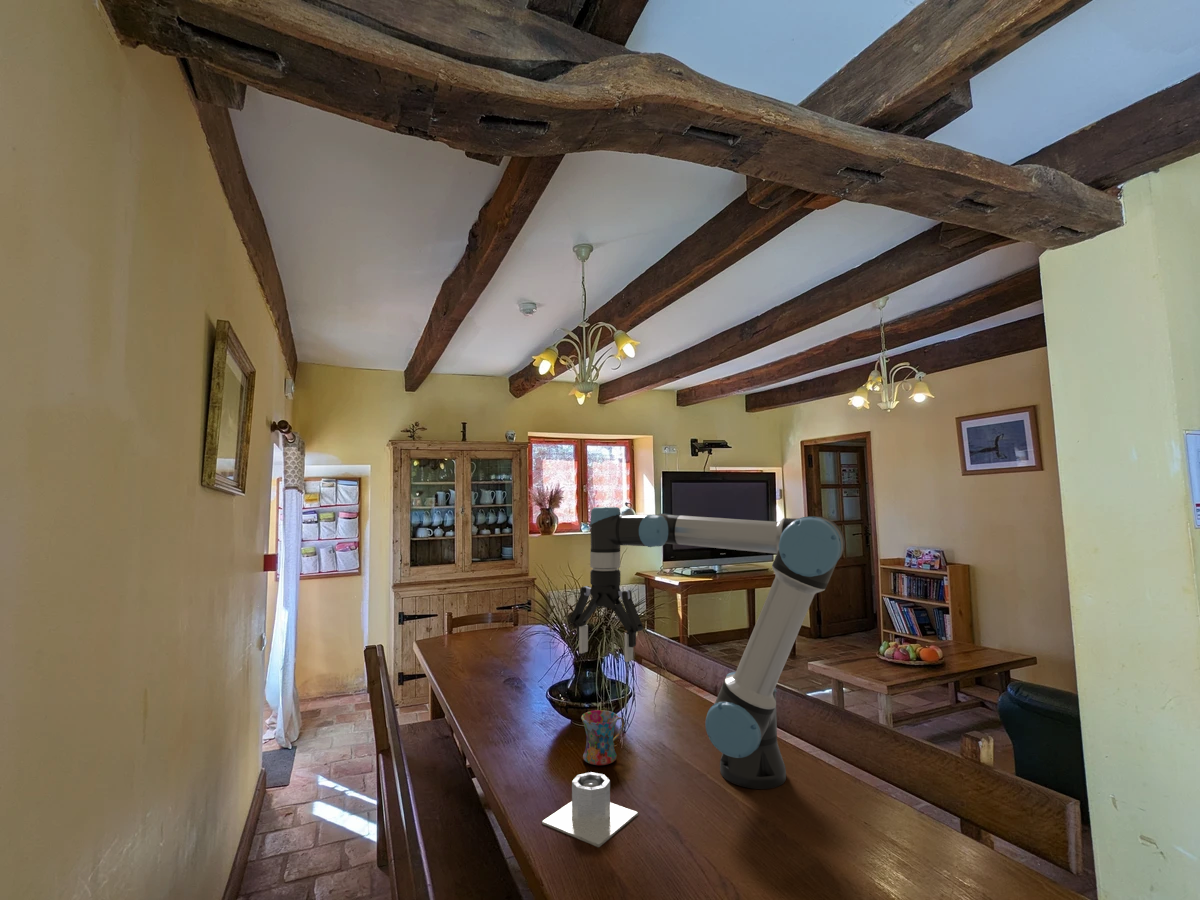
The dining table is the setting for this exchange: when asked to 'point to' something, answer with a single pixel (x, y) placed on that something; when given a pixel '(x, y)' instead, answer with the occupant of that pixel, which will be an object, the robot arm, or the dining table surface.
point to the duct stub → (590, 834)
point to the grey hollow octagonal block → (591, 800)
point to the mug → (600, 736)
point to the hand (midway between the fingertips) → (605, 656)
